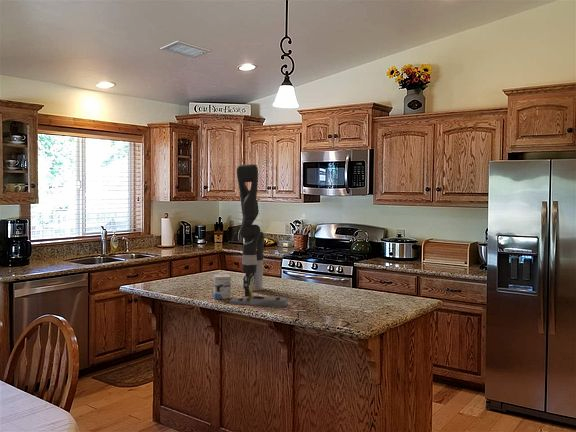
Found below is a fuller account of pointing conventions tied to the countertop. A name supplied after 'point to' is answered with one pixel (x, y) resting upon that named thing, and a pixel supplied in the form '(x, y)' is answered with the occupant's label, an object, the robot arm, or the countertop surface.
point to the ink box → (222, 287)
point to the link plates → (261, 301)
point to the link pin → (250, 291)
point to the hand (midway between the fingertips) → (248, 294)
